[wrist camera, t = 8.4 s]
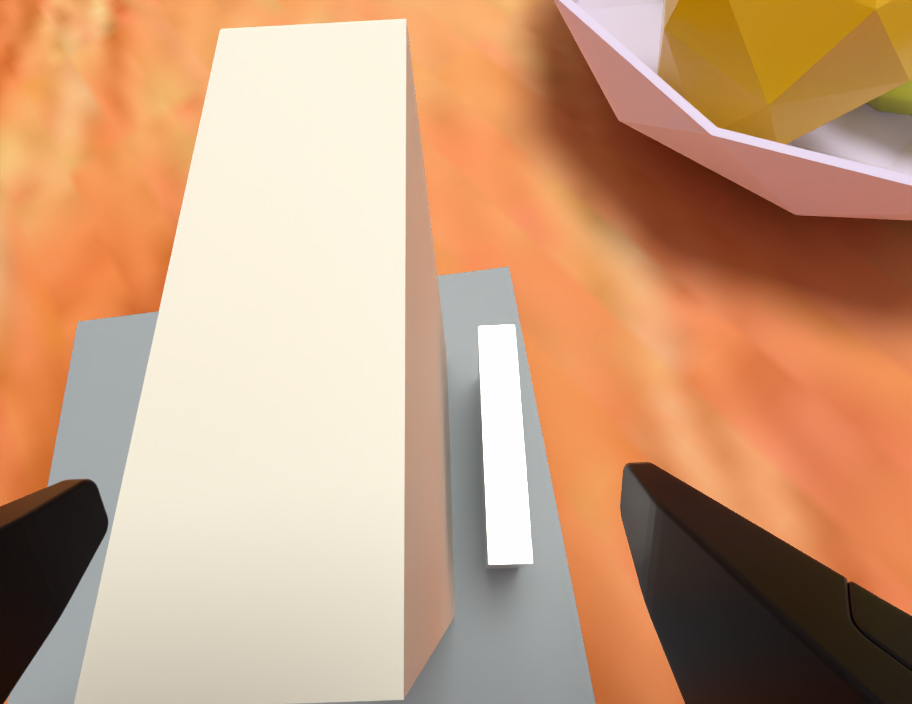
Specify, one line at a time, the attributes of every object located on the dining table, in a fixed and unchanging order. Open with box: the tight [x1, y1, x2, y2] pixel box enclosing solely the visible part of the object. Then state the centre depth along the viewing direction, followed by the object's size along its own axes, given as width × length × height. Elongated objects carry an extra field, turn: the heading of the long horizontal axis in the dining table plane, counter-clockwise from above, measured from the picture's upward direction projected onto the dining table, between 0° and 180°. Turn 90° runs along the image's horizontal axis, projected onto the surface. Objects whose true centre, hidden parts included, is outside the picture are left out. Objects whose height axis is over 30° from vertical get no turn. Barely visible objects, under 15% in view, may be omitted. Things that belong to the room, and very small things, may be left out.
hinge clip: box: [478, 325, 533, 569], centre depth 15 cm, size 6×6×4 cm
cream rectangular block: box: [74, 19, 455, 704], centre depth 11 cm, size 8×4×12 cm, turn 2°
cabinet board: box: [8, 267, 596, 704], centre depth 17 cm, size 14×16×1 cm
